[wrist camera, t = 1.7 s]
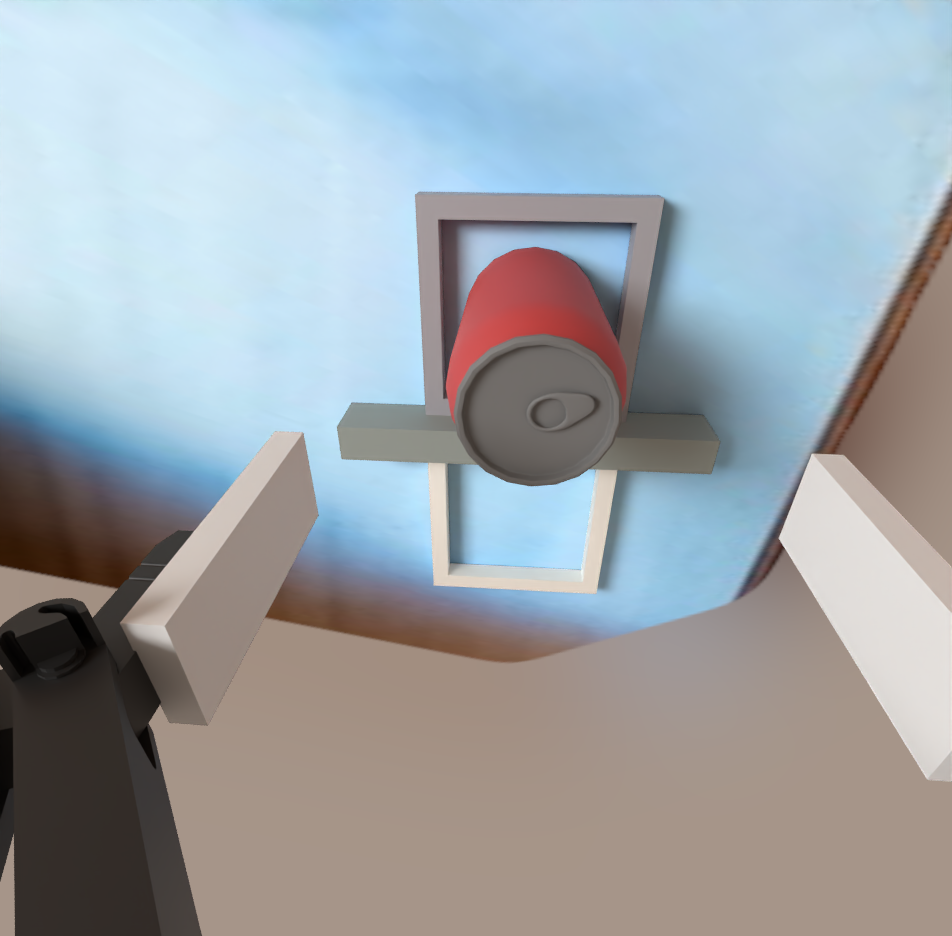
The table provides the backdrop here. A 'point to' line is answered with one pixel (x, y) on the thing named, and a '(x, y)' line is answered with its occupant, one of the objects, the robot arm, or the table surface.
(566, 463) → the beer can
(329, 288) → the table surface
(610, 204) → the double frame with crossbar
